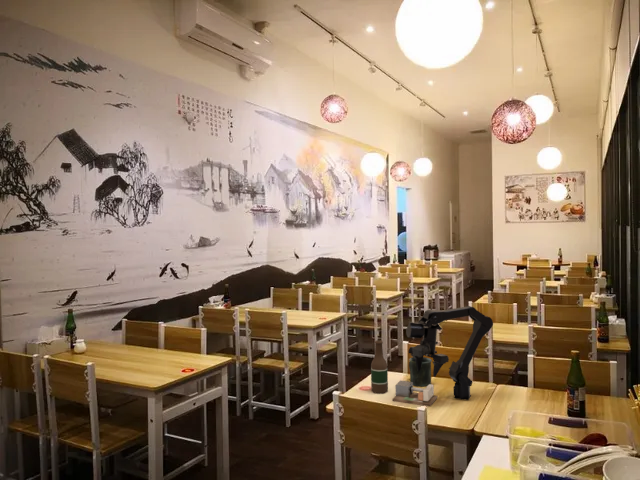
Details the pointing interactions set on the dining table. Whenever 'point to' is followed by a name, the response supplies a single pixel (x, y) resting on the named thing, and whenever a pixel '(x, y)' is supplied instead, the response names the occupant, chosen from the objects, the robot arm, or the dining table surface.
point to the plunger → (425, 392)
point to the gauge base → (415, 399)
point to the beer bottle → (379, 371)
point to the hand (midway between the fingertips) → (426, 373)
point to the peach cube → (420, 396)
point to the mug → (420, 372)
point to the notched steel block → (404, 389)
